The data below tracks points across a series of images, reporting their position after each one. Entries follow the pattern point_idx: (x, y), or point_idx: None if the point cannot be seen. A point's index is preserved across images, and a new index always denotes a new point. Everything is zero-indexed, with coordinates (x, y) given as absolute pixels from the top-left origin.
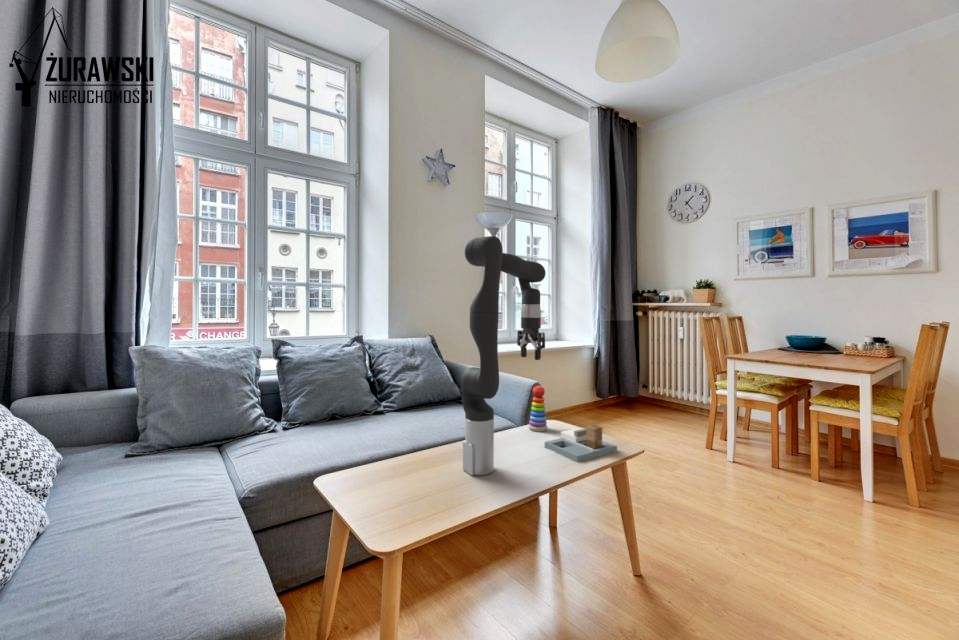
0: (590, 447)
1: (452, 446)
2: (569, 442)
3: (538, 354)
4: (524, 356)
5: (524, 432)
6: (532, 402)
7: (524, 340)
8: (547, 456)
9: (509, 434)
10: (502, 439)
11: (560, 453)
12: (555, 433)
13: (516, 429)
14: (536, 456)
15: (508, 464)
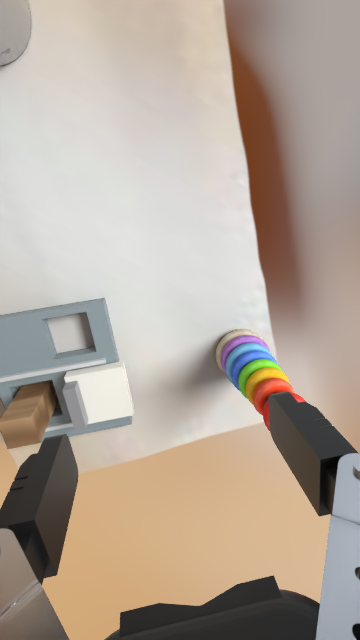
0: (31, 388)
1: (212, 22)
2: (77, 359)
3: (11, 499)
4: (271, 419)
5: (231, 305)
6: (279, 373)
7: (321, 598)
8: (37, 270)
9: (235, 257)
10: (205, 217)
11: (40, 309)
12: (190, 375)
13: (264, 297)
14: (46, 242)
15: (8, 132)
